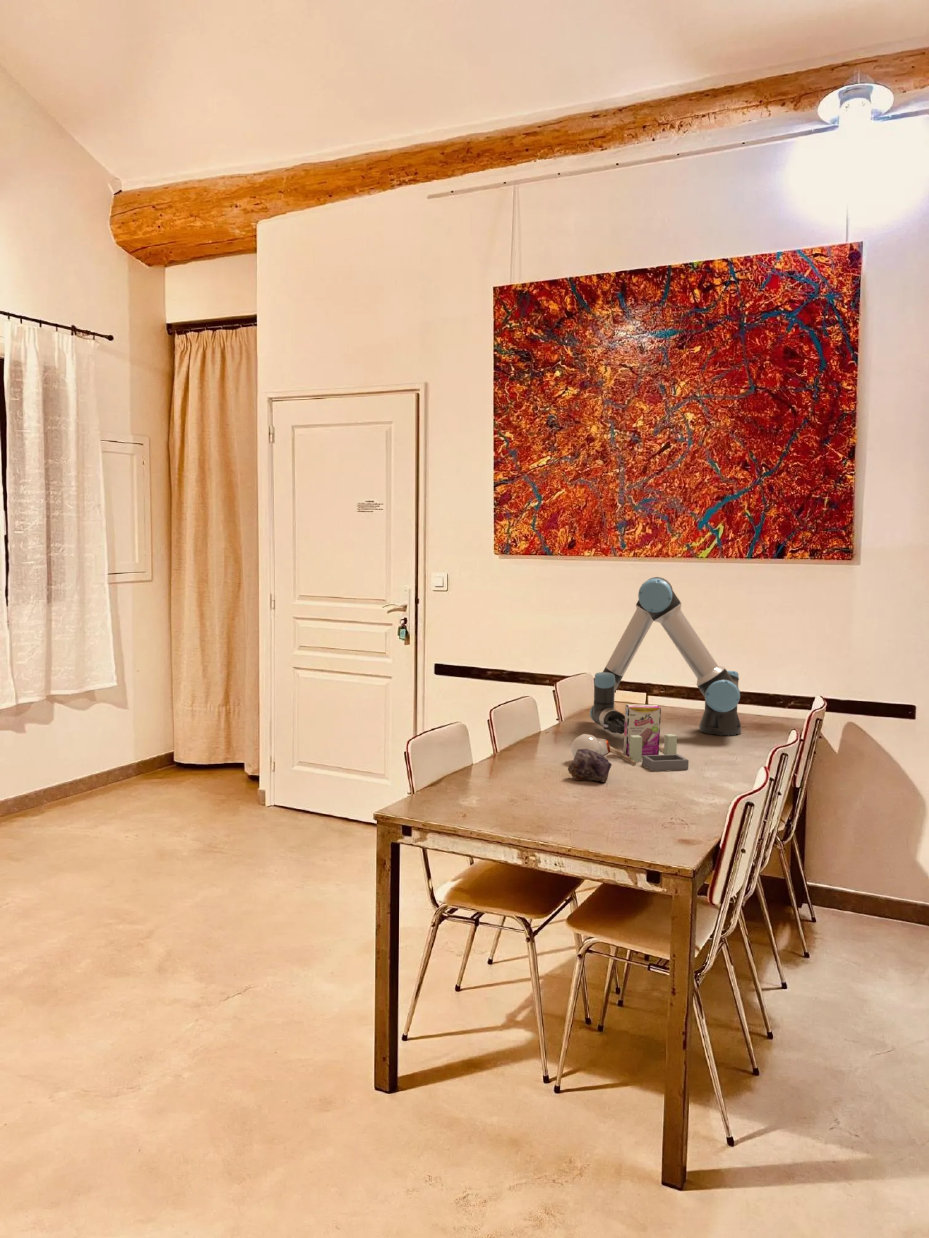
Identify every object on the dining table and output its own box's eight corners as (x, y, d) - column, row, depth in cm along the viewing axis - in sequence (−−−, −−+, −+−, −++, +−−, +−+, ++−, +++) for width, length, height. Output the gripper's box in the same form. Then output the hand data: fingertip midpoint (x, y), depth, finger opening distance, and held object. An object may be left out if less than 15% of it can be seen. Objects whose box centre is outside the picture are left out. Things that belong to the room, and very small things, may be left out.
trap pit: (677, 763, 309) (677, 754, 309) (688, 769, 301) (688, 760, 301) (642, 764, 306) (642, 755, 306) (652, 771, 299) (652, 761, 298)
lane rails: (652, 744, 335) (652, 741, 335) (685, 762, 310) (685, 759, 309) (603, 746, 331) (603, 743, 331) (633, 765, 306) (633, 761, 306)
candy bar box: (626, 755, 318) (627, 706, 316) (623, 752, 323) (624, 704, 321) (659, 756, 318) (661, 707, 317) (656, 752, 323) (657, 704, 322)
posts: (672, 757, 316) (673, 733, 315) (676, 760, 313) (677, 735, 312) (629, 759, 313) (629, 735, 312) (632, 761, 310) (633, 737, 309)
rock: (601, 789, 281) (612, 780, 290) (606, 761, 280) (617, 754, 288) (564, 778, 286) (576, 770, 295) (568, 751, 285) (580, 743, 293)
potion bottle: (573, 769, 304) (597, 766, 316) (596, 755, 299) (620, 753, 311) (560, 743, 308) (584, 741, 319) (583, 729, 303) (607, 727, 315)
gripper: (629, 730, 348) (656, 745, 325) (595, 731, 345) (619, 746, 322) (630, 709, 347) (657, 723, 324) (596, 710, 344) (620, 724, 321)
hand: (638, 734), depth 323 cm, fingers closed
